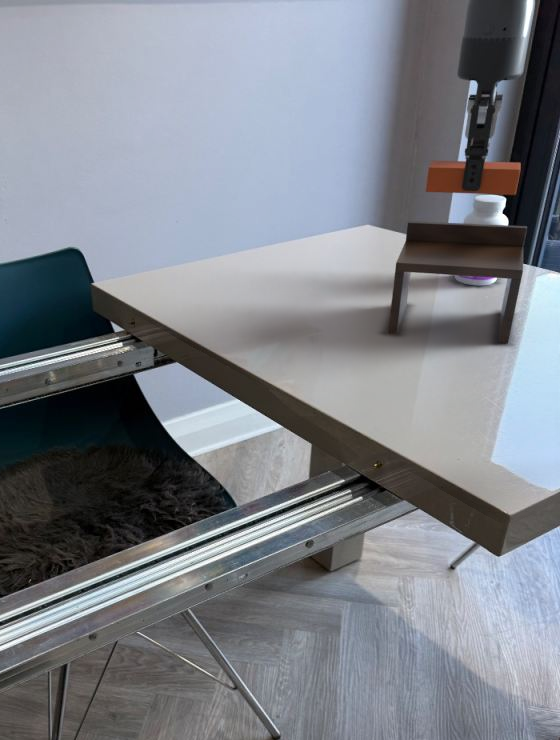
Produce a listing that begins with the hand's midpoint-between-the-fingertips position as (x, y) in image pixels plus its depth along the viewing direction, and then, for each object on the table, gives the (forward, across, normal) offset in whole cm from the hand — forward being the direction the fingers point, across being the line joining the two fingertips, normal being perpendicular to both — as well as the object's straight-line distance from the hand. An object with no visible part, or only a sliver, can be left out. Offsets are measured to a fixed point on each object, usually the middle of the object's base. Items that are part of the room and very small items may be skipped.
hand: (471, 185), depth 102 cm
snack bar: (+1, 0, 0) cm, 1 cm away
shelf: (+19, +1, 0) cm, 19 cm away
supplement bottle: (+19, +22, -3) cm, 29 cm away
